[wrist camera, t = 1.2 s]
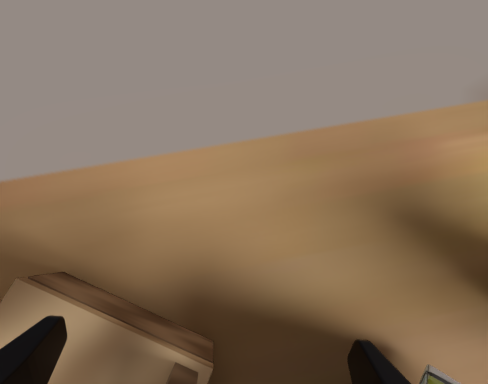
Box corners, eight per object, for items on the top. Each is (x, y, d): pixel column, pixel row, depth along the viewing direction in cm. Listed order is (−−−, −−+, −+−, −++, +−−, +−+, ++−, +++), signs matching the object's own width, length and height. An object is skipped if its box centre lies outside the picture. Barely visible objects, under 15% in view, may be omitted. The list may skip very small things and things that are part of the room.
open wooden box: (213, 341, 22) (213, 361, 17) (164, 453, 20) (152, 506, 15) (63, 272, 21) (28, 276, 17) (-1, 378, 19) (-57, 411, 15)
